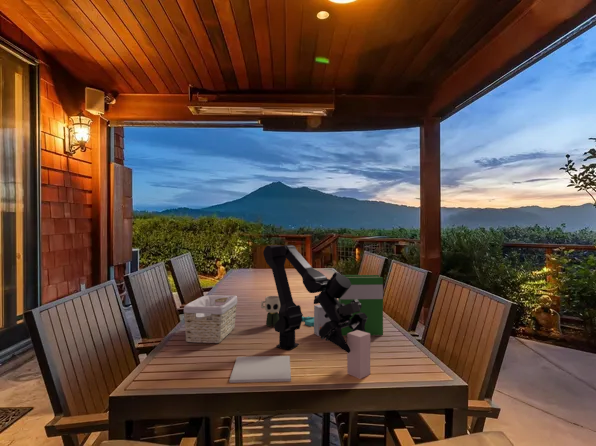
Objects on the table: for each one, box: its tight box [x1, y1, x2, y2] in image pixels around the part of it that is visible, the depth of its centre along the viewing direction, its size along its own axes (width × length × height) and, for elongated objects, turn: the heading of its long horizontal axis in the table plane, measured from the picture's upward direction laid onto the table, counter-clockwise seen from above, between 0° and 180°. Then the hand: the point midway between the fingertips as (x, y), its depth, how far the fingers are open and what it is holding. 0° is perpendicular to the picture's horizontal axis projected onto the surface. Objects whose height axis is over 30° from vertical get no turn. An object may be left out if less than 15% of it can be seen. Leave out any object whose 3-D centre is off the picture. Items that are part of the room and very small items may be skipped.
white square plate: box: [229, 355, 292, 384], centre depth 113 cm, size 18×18×1 cm
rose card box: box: [346, 330, 371, 380], centre depth 109 cm, size 5×5×12 cm
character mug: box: [260, 295, 281, 327], centre depth 161 cm, size 11×7×13 cm, turn 87°
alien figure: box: [301, 315, 314, 327], centre depth 169 cm, size 20×2×20 cm
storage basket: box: [183, 294, 238, 344], centre depth 148 cm, size 24×16×15 cm
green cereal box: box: [337, 274, 384, 336], centre depth 151 cm, size 18×7×24 cm, turn 91°
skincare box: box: [313, 304, 330, 337], centre depth 149 cm, size 6×4×12 cm
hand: (359, 348), depth 109 cm, fingers open, 9 cm apart
